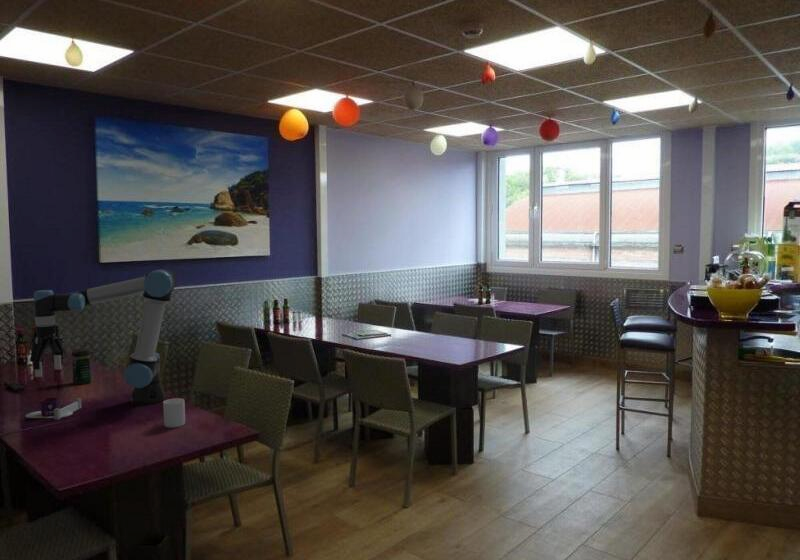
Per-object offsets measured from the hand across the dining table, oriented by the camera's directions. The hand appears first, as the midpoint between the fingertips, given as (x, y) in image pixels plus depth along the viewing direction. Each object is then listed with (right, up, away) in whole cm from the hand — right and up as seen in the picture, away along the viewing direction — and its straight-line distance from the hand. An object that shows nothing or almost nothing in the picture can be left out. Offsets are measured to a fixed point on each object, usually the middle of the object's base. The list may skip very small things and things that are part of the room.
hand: (48, 372), depth 264 cm
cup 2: (+60, -20, -13) cm, 65 cm away
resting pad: (0, -19, +1) cm, 19 cm away
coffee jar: (-16, -15, +58) cm, 61 cm away
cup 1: (0, -19, +2) cm, 19 cm away
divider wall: (+7, -19, +3) cm, 20 cm away
